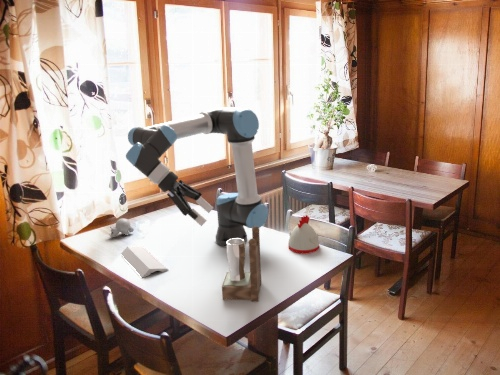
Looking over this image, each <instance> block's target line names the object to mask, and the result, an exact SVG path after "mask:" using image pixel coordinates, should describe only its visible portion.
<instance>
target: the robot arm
mask: <svg viewBox="0 0 500 375" xmlns="http://www.w3.org/2000/svg"><path fill="white" fill-rule="evenodd" d="M259 127H260V122H259V119H258V116H257V114H256V113H255V112H254V111H253V110H251V109H249V108H244V107H228V106H221V107H218V108H213V109H209V110H206V111H201V112H200V113H199V114H198V115H194V116H190V117H184V118H181V119H177V120H171V121H168V122H167V121H166V122H164V123H163V122H162V123H159V124H153V125H150V126H145V127H140V126H138V127H133V128H131V129H130V131H129V132H128V134H127V140H128V143H129V144H130V145H131V146H132V147H130V148H129V150H128V151H127V152H126V154H125V158H126V160H127V161H128V162H129V163H130V164H131V165H132V166H133V167H135V169H137V170H138V171H139V172H141V173H142V174H143V175H144V176H145V177H146V178H147V179H148V180H149V182H152V183H153V184H154V185H157V187H158V188H159V189H160V190H161V191H162V192H163V193H166V192H167V191H168V193H167V194H166V195H167V197H168V198H170V199H171V201H172V202H173V203H174V204H175V206H176V207H177V208H178V210H179V211H180V213H181V214H183V216H187V215H188V216H189V217H190V218H191V219H192V220H194V222H196V223H197V224H198V225H200V227H202V226H203V225H204V224H205V223H206V222H207V221H208V220H207V218H205V217H204V216H203V215H201V214H200V213H199V212H198V211H197V210H196V209H195V208H192V207H191V205H190V204H189V203H188V202H189V201H188V200H187V199H186V198H185V197H187V198H190V199H192V200H194V201H195V203H196V204H198V205H199V206H200V207H201V208H202V209H203V210H204V211H206V212H207V213H208V214H209V213H210V212H212V211H213V209H214V206H213V205H211V204H210V203H209V202H208V201H207V200H206V199H205V198H204V197H202V195H203V194H202V193H201V192H200V191H199V190H197V189H196V188H194V187H192V186H190V185H189V184H187V183H185V181H183V180H182V179H179V175H177V174H176V173H175V172H173V171H170V168H169V166H167V165H166V164H165V163H163V161H162V160H160V158H162V156H163V155H164V154H165V153H166V152H167V151H168V150H169V149H170V148H171V147H172V146H173V144H175V142H176V141H177V140H179V139H183V138H188V137H191V136H195V135H199V134H200V135H201V134H204V135H209V134H222V135H226V138H227V143H228V144H230V145H231V150H232V157H233V165H234V174H235V181H236V188H237V192H229V193H224V194H221V195H219V196H217V199H216V211H217V224H218V225H217V231H216V234H215V243H216V244H217V245H219V246H222V247H227V241H228V240H229V239H233V238H240V239H243V240H244V241H245V243H246V242H247V241H248V234H247V232H246V229H245V227H246V228H249V229H252V228H253V227H254V226H257V227H259V229H260V228H261V227H263V226H264V224H265V223H266V221H267V220H268V216H269V209H268V207H267V206H266V205H265V203H264V204H263V202H262V200H263V199H262V196H261V195H260V194H258V188H257V187H258V186H257V179H256V170H255V160H254V151H253V144H252V142H254V140H255V138H256V137H255V136H256V134H258V130H259ZM178 179H179V181H177V180H178Z"/></svg>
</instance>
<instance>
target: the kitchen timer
mask: <svg viewBox="0 0 500 375" xmlns="http://www.w3.org/2000/svg"><path fill="white" fill-rule="evenodd" d="M309 222H310V216H308V215H307V214H306V215H303V216H301V217H300V220H299V223H297V225H295V227H294V228H293V229H292V231H290V232H289V239H288V245H287V246H288V250H289V251H290V252H292V253H295V254H301V253H302V254H301V255H303V254H312V253H313V254H314V253H315V252H317V251H318V250H319V248H320V241H319V235H318V234H317V232H316V230H315V228H313V227H312V225H310V224H309Z"/></svg>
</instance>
